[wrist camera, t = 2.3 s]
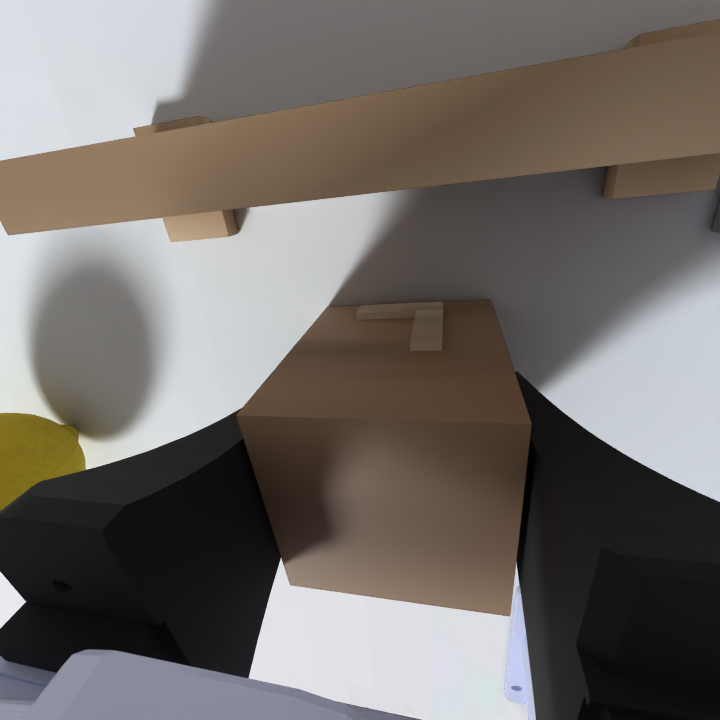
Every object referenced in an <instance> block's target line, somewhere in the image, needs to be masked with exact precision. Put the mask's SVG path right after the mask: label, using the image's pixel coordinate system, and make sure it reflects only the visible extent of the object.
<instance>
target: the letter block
mask: <svg viewBox="0 0 720 720" xmlns="http://www.w3.org/2000/svg"><path fill="white" fill-rule="evenodd" d="M236 416H237V419H238V423H239V426H240V429H241V432H242V435H243V438H244V442H245V445H246V448H247V451H248V454H249V457H250V460H251V464H252V467H253V470H254V473H255V476H256V479H257V482H258V486H259V489H260V492H261V495H262V498H263V501H264V504H265V508H266V511H267V514H268V517H269V520H270V523H271V527H272V530H273V533H274V536H275V539H276V542H277V545H278V549H279V552H280V555H281V558H282V561H283V564H284V567H285V571H286V574H287V577H288V580H289V583H290V585H292V586H299V587H306V588H313V589H320V590H327V591H335V592H342V593H349V594H356V595H363V596H370V597H377V598H384V599H391V600H398V601H405V602H412V603H419V604H426V605H433V606H440V607H447V608H454V609H461V610H468V611H475V612H482V613H489V614H496V615H503V616H510V613H511V604H512V595H513V586H514V577H515V568H516V559H517V550H518V541H519V532H520V524H521V515H522V506H523V497H524V488H525V479H526V470H527V461H528V452H529V443H530V434H531V425H532V423H531V420H530V417H529V414H528V411H527V408H526V405H525V402H524V399H523V396H522V393H521V390H520V387H519V384H518V381H517V378H516V375H515V372H514V369H513V366H512V363H511V360H510V356H509V353H508V350H507V347H506V344H505V341H504V338H503V335H502V332H501V329H500V326H499V323H498V320H497V317H496V314H495V311H494V308H493V305H492V302H491V299H486V300H464V301H441V302H419V303H396V304H374V305H352V306H330V307H327V308H326V309H325V310H324V311H323V313H322V314H321V315H320V316H319V317H318V319H317V320H316V321H315V322H314V323H313V325H312V326H311V327H310V328H309V329H308V330H307V332H306V333H305V334H304V335H303V336H302V338H301V339H300V340H299V341H298V342H297V344H296V345H295V346H294V347H293V348H292V350H291V351H290V352H289V353H288V354H287V355H286V357H285V358H284V359H283V360H282V361H281V363H280V364H279V365H278V366H277V367H276V369H275V370H274V371H273V372H272V373H271V375H270V376H269V377H268V378H267V379H266V380H265V382H264V383H263V384H262V385H261V386H260V388H259V389H258V390H257V391H256V392H255V394H254V395H253V396H252V397H251V398H250V400H249V401H248V402H247V403H246V404H245V405H244V407H243V408H242V409H241V410H240V411H239V413H238V414H237V415H236Z"/></svg>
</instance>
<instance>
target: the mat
mask: <svg viewBox="0 0 720 720" xmlns="http://www.w3.org/2000/svg"><path fill="white" fill-rule="evenodd" d="M712 231H715V232H719V233H720V204H719V207H718V210H717V214H716V217H715V221H714V224H713V227H712Z"/></svg>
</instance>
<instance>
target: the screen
mask: <svg viewBox="0 0 720 720" xmlns="http://www.w3.org/2000/svg"><path fill="white" fill-rule="evenodd" d="M133 130H134V133H135V136H136V137H130V138H125V139H119V140H114V141H108V142H102V143H97V144H91V145H86V146H80V147H75V148H69V149H63V150H58V151H52V152H47V153H41V154H36V155H30V156H24V157H19V158H13V159H8V160H2V161H0V221H1V223H2V225H3V227H4V229H5V231H6V233H7V234H8V235H16V234H24V233H33V232H42V231H50V230H59V229H68V228H76V227H85V226H93V225H102V224H111V223H119V222H128V221H137V220H145V219H154V218H163V221H164V224H165V227H166V230H167V233H168V236H169V239H170V242H178V241H189V240H199V239H209V238H220V237H229V236H232V235H235V234H238V229H237V225H236V221H235V217H234V213H233V209H240V208H249V207H257V206H266V205H275V204H283V203H292V202H300V201H309V200H318V199H326V198H335V197H344V196H352V195H361V194H369V193H378V192H387V191H395V190H404V189H413V188H421V187H430V186H438V185H447V184H456V183H464V182H473V181H482V180H490V179H499V178H507V177H516V176H525V175H533V174H542V173H550V172H559V171H568V170H576V169H585V168H594V167H602V166H608V168H607V174H606V181H605V187H604V193H603V198H608V199H621V198H632V197H642V196H652V195H662V194H673V193H683V192H693V191H704V190H714V189H716V185H717V181H718V178H719V174H720V19H719V20H714V21H708V22H703V23H697V24H692V25H687V26H681V27H676V28H671V29H665V30H660V31H654V32H649V33H644V34H640V35H639V36H637V37H636V38H634V39H633V40H631V41H630V42H628V45H627V49H621V50H616V51H610V52H605V53H599V54H593V55H588V56H582V57H577V58H571V59H566V60H560V61H554V62H549V63H543V64H538V65H532V66H526V67H521V68H515V69H510V70H504V71H499V72H493V73H487V74H482V75H476V76H471V77H465V78H460V79H454V80H448V81H443V82H437V83H432V84H426V85H420V86H415V87H409V88H404V89H398V90H393V91H387V92H381V93H376V94H370V95H365V96H359V97H354V98H348V99H342V100H337V101H331V102H326V103H320V104H314V105H309V106H303V107H298V108H292V109H287V110H281V111H275V112H270V113H264V114H259V115H253V116H248V117H242V118H236V119H231V120H225V121H220V122H214V123H211V121H210V119H208V118H203V117H192V118H186V119H181V120H175V121H170V122H165V123H159V124H154V125H148V126H143V127H138V128H133Z"/></svg>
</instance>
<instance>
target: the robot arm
mask: <svg viewBox="0 0 720 720" xmlns="http://www.w3.org/2000/svg"><path fill="white" fill-rule="evenodd" d="M515 375H516V378H517V381H518V384H519V387H520V390H521V393H522V396H523V399H524V402H525V405H526V408H527V411H528V414H529V417H530V420H531V423H532V425H531V434H530V443H529V452H528V461H527V470H526V479H525V488H524V497H523V506H522V515H521V524H520V532H519V541H518V550H517V559H516V562H517V569H518V576H519V584H520V585H519V586H518V587H517V588H516V590H515V599H514V608H513V616H512V625H511V633H510V642H509V650H508V659H507V667H506V676H505V684H504V692H505V697H506V698H507V699H508V700H510V701H512V702H516V703H522V704H526V707H527V714H528V720H720V502H718V501H716V500H714V499H712V498H709V497H707V496H705V495H702V494H700V493H698V492H696V491H694V490H692V489H690V488H688V487H685V486H683V485H681V484H679V483H677V482H675V481H673V480H671V479H669V478H667V477H665V476H663V475H661V474H659V473H658V472H656V471H654V470H652V469H650V468H648V467H646V466H644V465H642V464H640V463H639V462H637V461H635V460H633V459H632V458H630V457H628V456H626V455H625V454H623V453H621V452H620V451H618V450H617V449H615V448H613V447H612V446H610V445H609V444H607V443H605V442H604V441H602V440H600V439H599V438H597V437H596V436H595V435H593V434H592V433H590V432H589V431H587V430H586V429H585V428H583V427H582V426H580V425H579V424H578V423H576V422H575V421H574V420H572V419H571V418H570V417H568V416H567V415H566V414H565V413H563V412H562V411H561V410H560V409H558V408H557V407H556V406H555V405H554V404H552V403H551V402H550V401H549V400H548V399H547V398H545V397H544V396H543V395H542V394H541V393H540V392H539V391H538V390H537V389H535V388H534V387H533V386H532V385H531V384H530V383H529V382H528V381H527V380H526V379H525V378H524V377H523V376H522V375H520V374H519V373H518V372H515ZM241 409H242V408H241ZM241 409H239V410H238V411H236V412H234V413H232V414H231V415H229V416H227V417H225V418H223V419H221V420H220V421H218V422H216V423H214V424H212V425H210V426H208V427H205V428H203V429H201V430H199V431H197V432H195V433H193V434H190V435H188V436H186V437H183V438H181V439H178V440H176V441H173V442H170V443H168V444H165V445H163V446H160V447H158V448H155V449H153V450H150V451H147V452H144V453H141V454H138V455H135V456H132V457H129V458H126V459H123V460H120V461H116V462H113V463H110V464H106V465H103V466H99V467H96V468H92V469H88V470H84V471H80V472H76V473H72V474H68V475H64V476H60V477H56V478H52V479H47V480H43V481H40V482H39V483H37V484H35V485H34V486H32V487H31V488H29V489H28V490H27V491H26V492H24V493H23V494H22V495H20V496H19V497H18V498H17V499H15V500H14V501H13V502H11V503H10V504H9V505H7V506H6V507H5V508H4V509H2V510H1V511H0V572H1V573H2V574H3V575H4V576H5V577H6V579H7V580H8V581H9V582H10V583H11V584H12V586H13V587H14V588H15V589H16V590H17V591H18V593H19V594H20V595H21V596H22V597H23V599H24V600H25V601H27V602H26V603H25V604H24V605H23V606H22V607H21V608H20V609H19V610H18V611H17V612H16V613H15V614H14V615H13V616H12V617H11V618H10V619H9V620H8V621H7V622H6V623H5V624H4V625H3V627H2V628H1V629H0V720H420V719H416V718H411V717H406V716H402V715H397V714H392V713H388V712H383V711H378V710H373V709H369V708H364V707H359V706H355V705H350V704H345V703H341V702H336V701H333V700H330V699H327V698H324V697H321V696H318V695H315V694H312V693H309V692H306V691H303V690H300V689H296V688H291V687H286V686H281V685H277V684H272V683H267V682H262V681H258V680H253V679H248V677H249V673H250V669H251V665H252V661H253V657H254V653H255V648H256V644H257V640H258V636H259V633H260V629H261V625H262V622H263V618H264V614H265V610H266V607H267V603H268V599H269V596H270V592H271V589H272V585H273V582H274V579H275V575H276V572H277V569H278V565H279V562H280V559H281V555H280V552H279V549H278V545H277V542H276V539H275V536H274V533H273V530H272V527H271V523H270V520H269V517H268V514H267V511H266V508H265V504H264V501H263V498H262V495H261V492H260V489H259V486H258V482H257V479H256V476H255V473H254V470H253V467H252V464H251V460H250V457H249V454H248V451H247V448H246V445H245V442H244V438H243V435H242V432H241V429H240V426H239V423H238V419H237V416H236V415H237V414H238V413H239V411H240V410H241Z"/></svg>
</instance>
